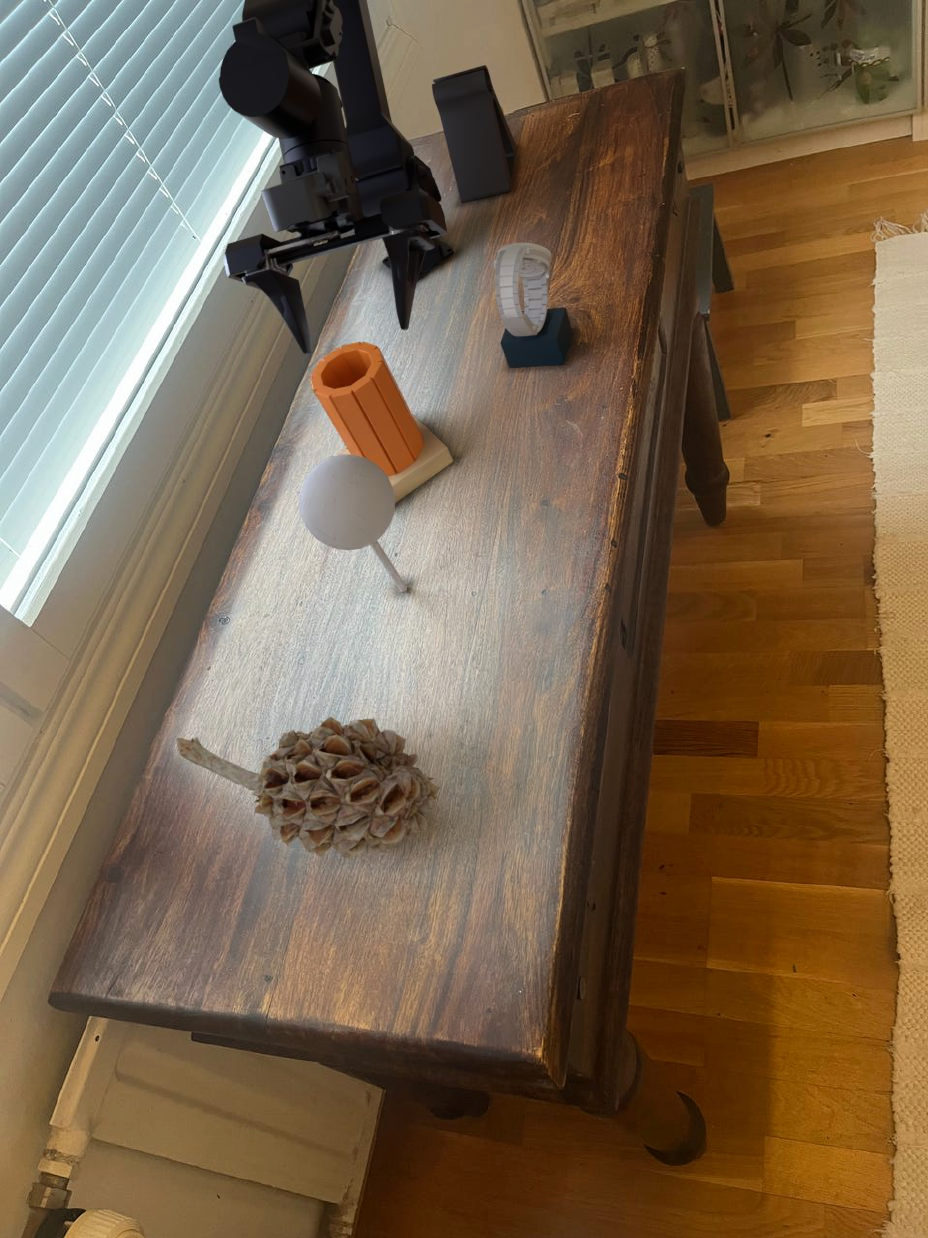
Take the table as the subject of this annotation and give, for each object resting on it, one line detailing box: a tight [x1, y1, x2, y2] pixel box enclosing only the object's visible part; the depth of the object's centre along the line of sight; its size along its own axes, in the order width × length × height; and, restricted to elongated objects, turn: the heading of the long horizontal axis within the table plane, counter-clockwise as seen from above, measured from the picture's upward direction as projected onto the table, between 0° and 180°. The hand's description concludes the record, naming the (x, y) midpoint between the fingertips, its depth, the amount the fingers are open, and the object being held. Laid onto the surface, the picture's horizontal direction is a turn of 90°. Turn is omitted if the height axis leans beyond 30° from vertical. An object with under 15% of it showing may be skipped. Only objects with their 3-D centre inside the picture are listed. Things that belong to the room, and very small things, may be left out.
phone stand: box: [431, 64, 518, 204], centre depth 105 cm, size 9×6×12 cm, turn 173°
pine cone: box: [175, 716, 441, 860], centre depth 65 cm, size 22×10×10 cm, turn 74°
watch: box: [493, 242, 574, 369], centre depth 85 cm, size 6×8×11 cm
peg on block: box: [336, 413, 454, 504], centre depth 84 cm, size 8×8×8 cm
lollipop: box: [298, 454, 408, 593], centre depth 72 cm, size 7×7×15 cm
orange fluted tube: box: [310, 341, 424, 476], centre depth 82 cm, size 6×7×10 cm
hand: (355, 341), depth 81 cm, fingers open, 9 cm apart
